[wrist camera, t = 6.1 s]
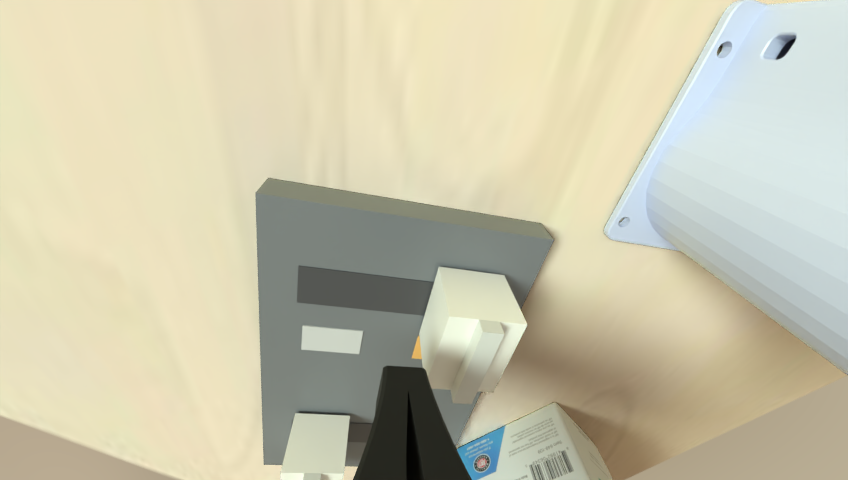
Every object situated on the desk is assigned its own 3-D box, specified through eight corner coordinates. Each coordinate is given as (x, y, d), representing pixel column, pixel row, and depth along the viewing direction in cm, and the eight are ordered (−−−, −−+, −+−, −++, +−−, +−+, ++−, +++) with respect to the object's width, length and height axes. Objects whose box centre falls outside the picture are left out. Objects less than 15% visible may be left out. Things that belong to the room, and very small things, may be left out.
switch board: (268, 178, 14) (255, 193, 12) (540, 223, 16) (554, 240, 14) (270, 440, 23) (263, 465, 22) (441, 445, 25) (444, 468, 24)
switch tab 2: (438, 266, 14) (451, 328, 11) (504, 275, 15) (533, 337, 12) (419, 333, 16) (426, 401, 13) (477, 338, 17) (497, 405, 14)
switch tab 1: (295, 413, 19) (277, 486, 16) (349, 415, 19) (342, 487, 16) (293, 451, 21) (276, 524, 18) (343, 453, 21) (335, 523, 18)
